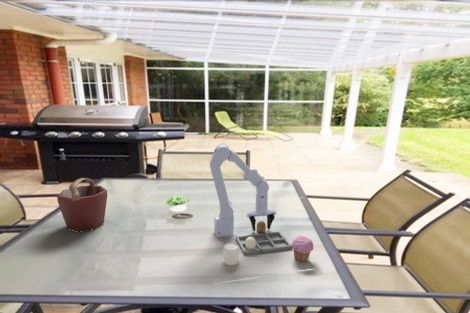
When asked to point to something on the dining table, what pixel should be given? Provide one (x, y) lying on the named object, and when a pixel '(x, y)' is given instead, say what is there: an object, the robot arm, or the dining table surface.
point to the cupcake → (302, 248)
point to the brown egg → (261, 227)
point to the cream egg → (250, 243)
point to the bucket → (83, 205)
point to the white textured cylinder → (231, 253)
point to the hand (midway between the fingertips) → (261, 229)
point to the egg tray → (264, 243)
